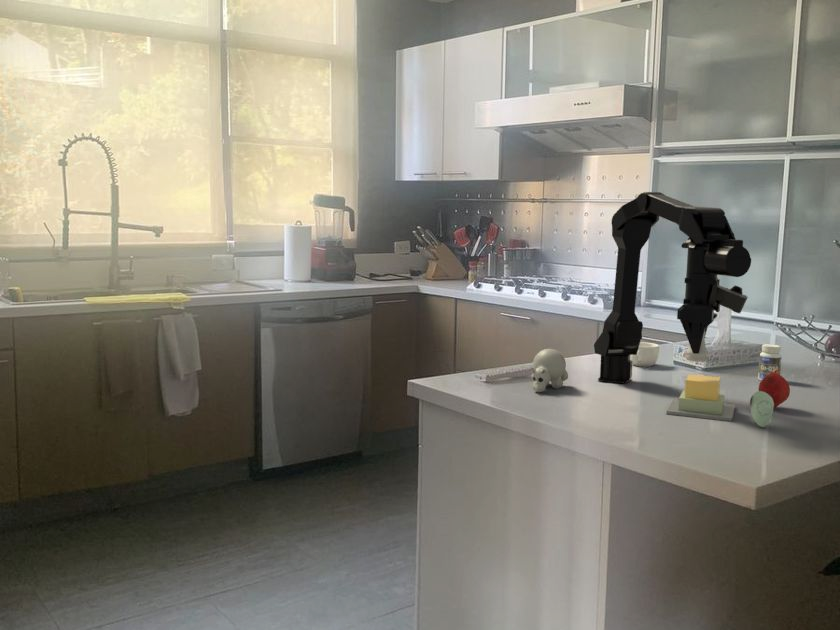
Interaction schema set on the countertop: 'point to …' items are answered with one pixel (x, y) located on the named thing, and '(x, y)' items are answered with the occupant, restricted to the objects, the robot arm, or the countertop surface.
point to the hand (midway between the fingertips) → (697, 351)
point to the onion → (775, 387)
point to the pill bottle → (769, 360)
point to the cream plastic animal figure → (548, 370)
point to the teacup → (645, 355)
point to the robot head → (761, 408)
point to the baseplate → (702, 415)
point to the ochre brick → (702, 387)
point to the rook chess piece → (701, 355)
